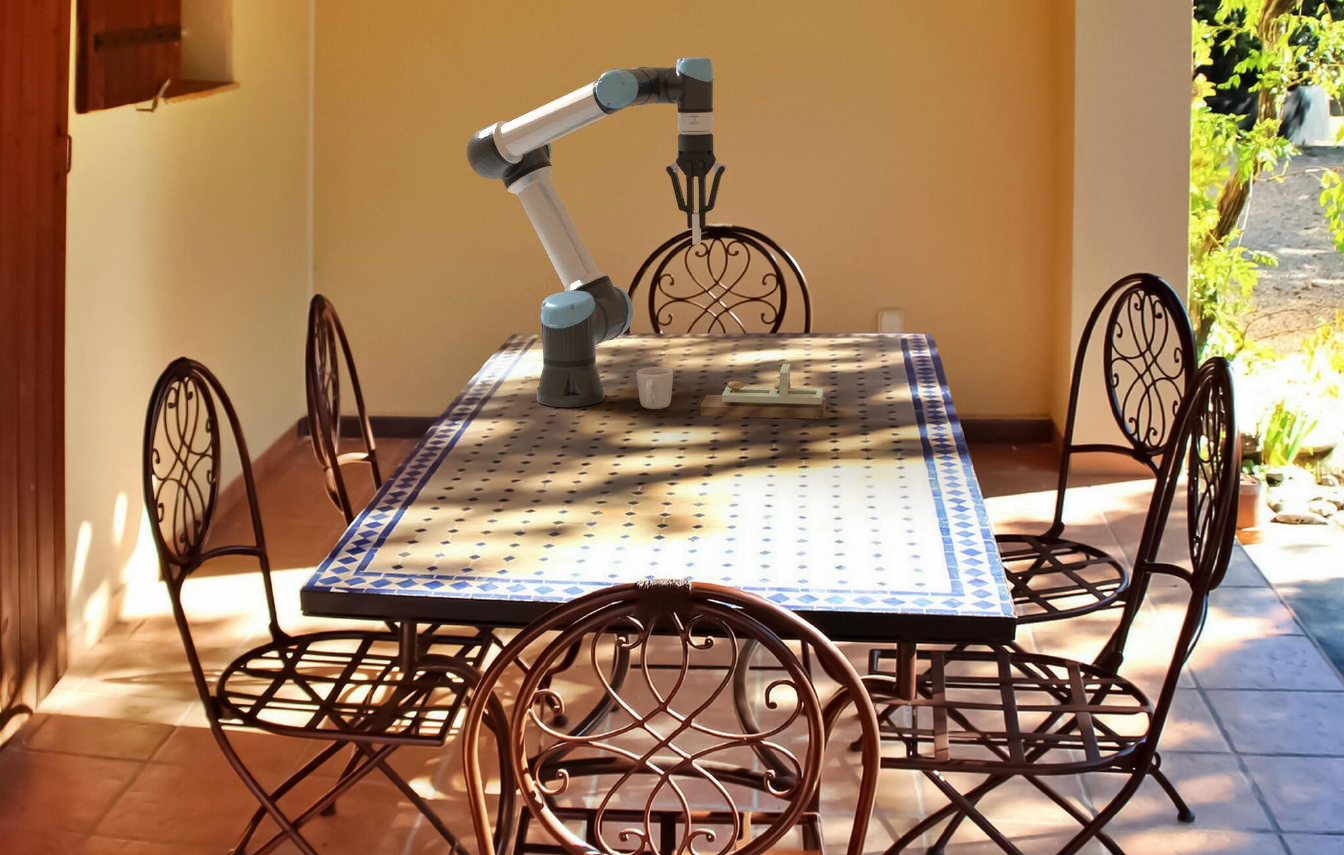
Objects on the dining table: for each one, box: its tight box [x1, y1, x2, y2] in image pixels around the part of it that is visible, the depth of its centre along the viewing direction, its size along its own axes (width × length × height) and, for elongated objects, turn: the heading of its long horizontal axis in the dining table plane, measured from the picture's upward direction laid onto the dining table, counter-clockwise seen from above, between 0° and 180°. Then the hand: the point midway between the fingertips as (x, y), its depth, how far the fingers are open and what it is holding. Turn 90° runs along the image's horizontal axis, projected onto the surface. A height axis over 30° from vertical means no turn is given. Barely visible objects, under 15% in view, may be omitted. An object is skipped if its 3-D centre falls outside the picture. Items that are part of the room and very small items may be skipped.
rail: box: [699, 380, 827, 420], centre depth 308 cm, size 26×10×6 cm, turn 81°
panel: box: [721, 363, 825, 404], centre depth 306 cm, size 21×8×7 cm, turn 81°
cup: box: [636, 366, 674, 410], centre depth 311 cm, size 11×8×8 cm
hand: (696, 243), depth 311 cm, fingers closed
